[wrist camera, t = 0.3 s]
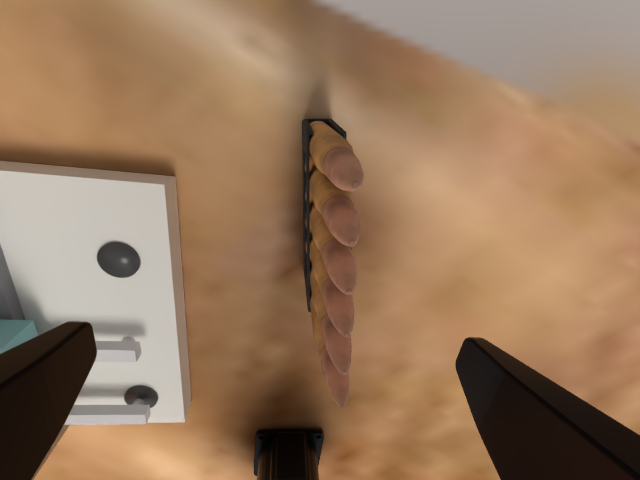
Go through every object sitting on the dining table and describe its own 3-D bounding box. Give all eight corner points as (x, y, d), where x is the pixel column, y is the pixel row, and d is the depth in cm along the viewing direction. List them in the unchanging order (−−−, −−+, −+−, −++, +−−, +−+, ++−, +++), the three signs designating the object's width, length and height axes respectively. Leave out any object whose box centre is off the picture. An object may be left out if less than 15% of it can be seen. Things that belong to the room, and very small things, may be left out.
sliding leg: (147, 362, 22) (96, 460, 16) (-12, 360, 21) (-131, 466, 15) (141, 317, 21) (81, 407, 15) (-32, 311, 19) (-175, 408, 13)
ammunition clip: (302, 118, 19) (321, 149, 8) (332, 118, 19) (392, 149, 8) (304, 272, 23) (318, 425, 13) (328, 271, 24) (364, 421, 13)
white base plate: (191, 400, 28) (157, 508, 20) (13, 401, 26) (-94, 520, 19) (175, 176, 20) (110, 223, 12) (-86, 153, 18) (-344, 192, 10)
